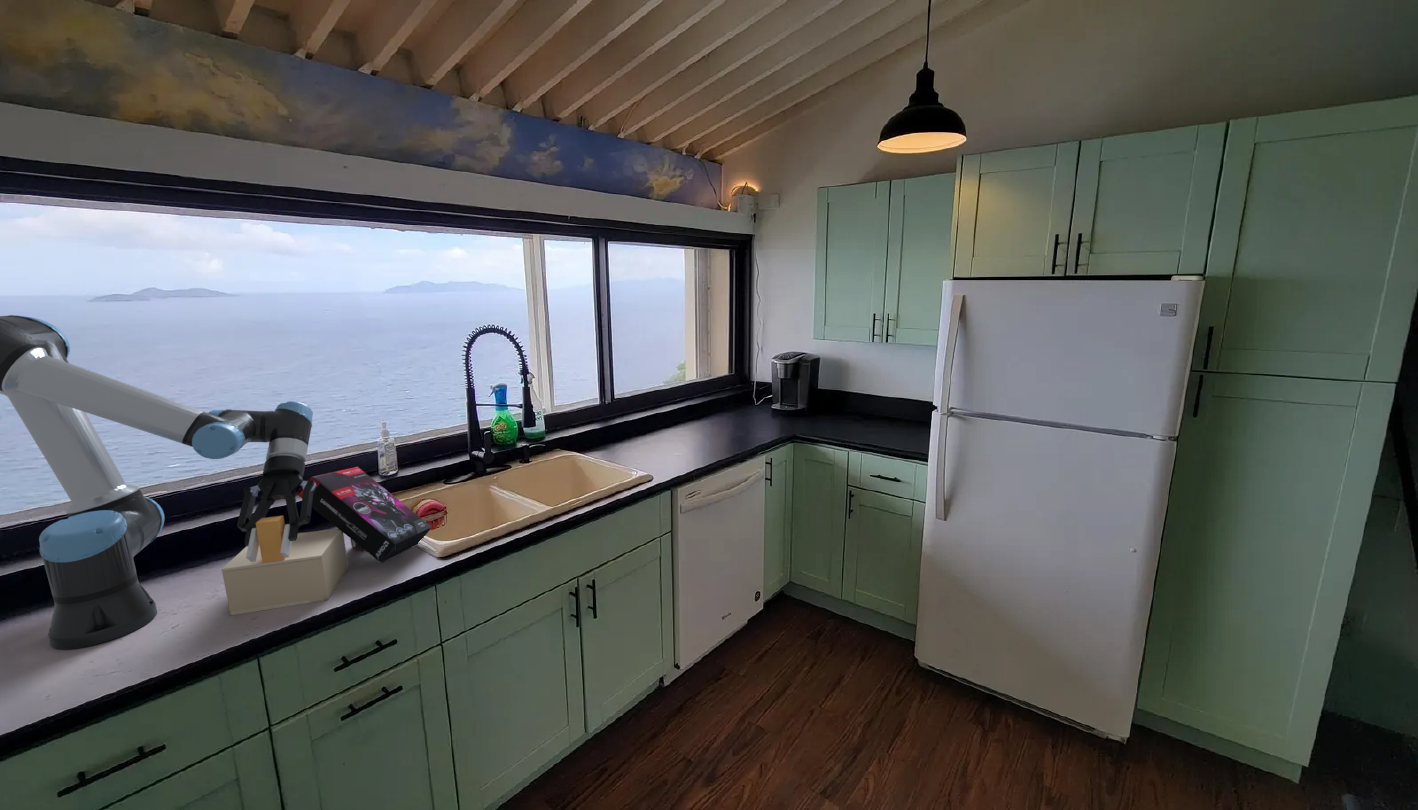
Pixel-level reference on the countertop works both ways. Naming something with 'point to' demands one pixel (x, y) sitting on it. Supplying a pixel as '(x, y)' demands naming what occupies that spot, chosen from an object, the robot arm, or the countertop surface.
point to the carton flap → (271, 542)
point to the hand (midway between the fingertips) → (267, 557)
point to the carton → (286, 582)
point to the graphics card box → (367, 513)
